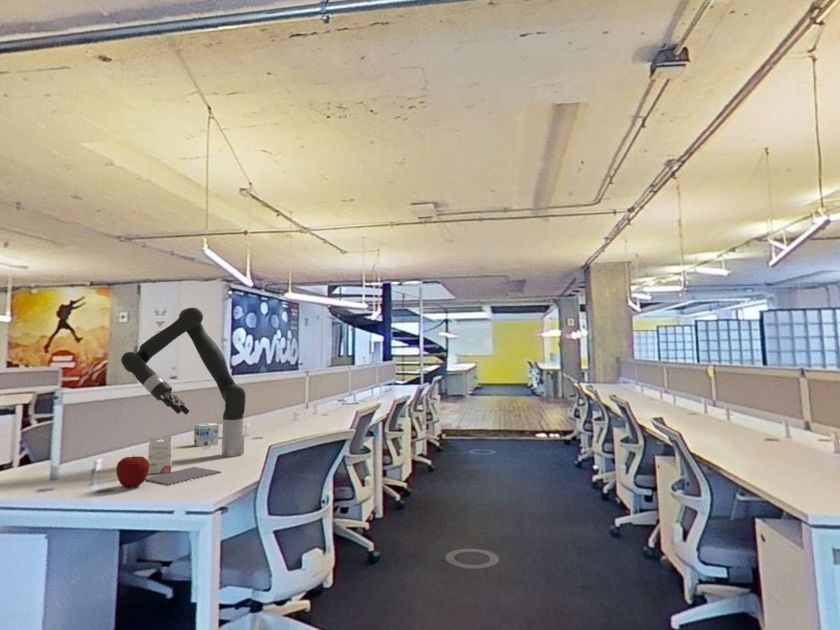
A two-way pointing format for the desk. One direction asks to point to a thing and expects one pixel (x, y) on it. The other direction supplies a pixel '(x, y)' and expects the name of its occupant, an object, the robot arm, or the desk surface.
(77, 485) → the desk surface
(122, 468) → the apple
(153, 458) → the ink cartridge box
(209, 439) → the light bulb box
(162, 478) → the rubber mat
